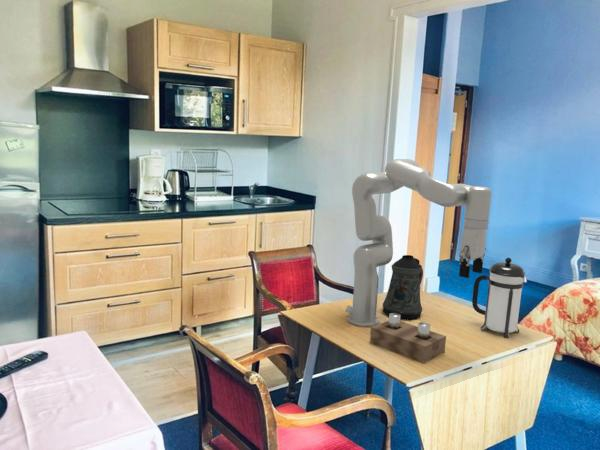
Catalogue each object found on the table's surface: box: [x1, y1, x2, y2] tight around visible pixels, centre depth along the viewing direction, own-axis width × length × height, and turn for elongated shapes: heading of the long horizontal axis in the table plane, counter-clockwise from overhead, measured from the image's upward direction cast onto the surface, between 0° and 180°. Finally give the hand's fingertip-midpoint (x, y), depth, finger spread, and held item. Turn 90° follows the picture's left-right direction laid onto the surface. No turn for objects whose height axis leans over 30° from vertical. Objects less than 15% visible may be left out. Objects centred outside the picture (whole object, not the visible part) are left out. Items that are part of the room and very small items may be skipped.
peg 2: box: [417, 321, 431, 340], centre depth 177 cm, size 4×4×6 cm
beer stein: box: [382, 254, 424, 321], centre depth 217 cm, size 16×19×25 cm
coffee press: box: [471, 257, 527, 339], centre depth 201 cm, size 17×16×30 cm
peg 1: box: [388, 313, 401, 330], centre depth 185 cm, size 4×4×6 cm
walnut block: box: [369, 320, 447, 365], centre depth 181 cm, size 22×14×6 cm, turn 46°
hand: (470, 274), depth 171 cm, fingers open, 9 cm apart
